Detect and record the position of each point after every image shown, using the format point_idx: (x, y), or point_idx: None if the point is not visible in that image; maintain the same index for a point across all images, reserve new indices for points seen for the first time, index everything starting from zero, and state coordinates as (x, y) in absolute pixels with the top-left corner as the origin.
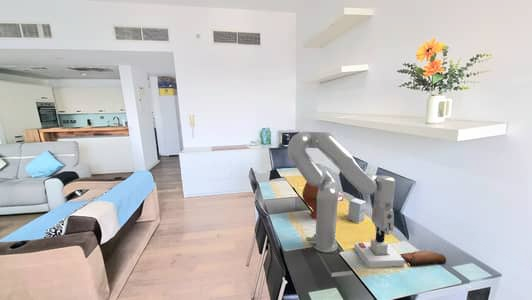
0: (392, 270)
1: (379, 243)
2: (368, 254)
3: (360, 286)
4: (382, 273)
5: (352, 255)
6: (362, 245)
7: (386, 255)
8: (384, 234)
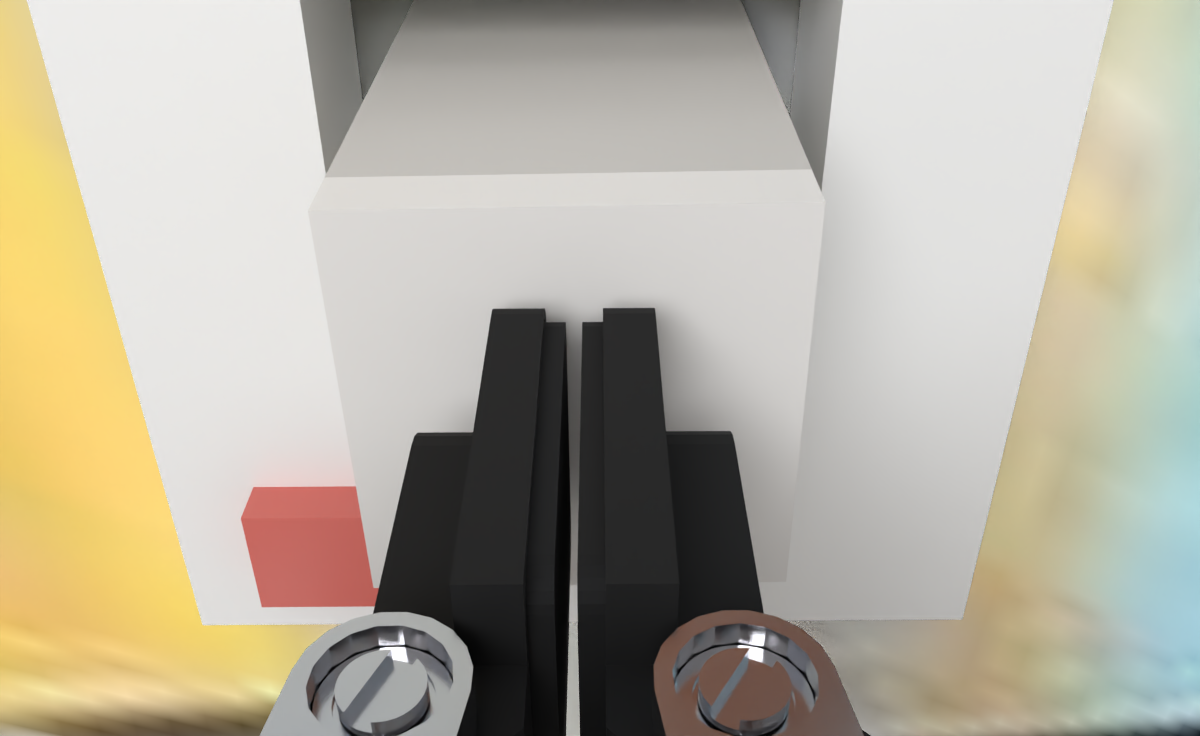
0: (1146, 73)
1: None
2: None
3: None
4: (1150, 353)
5: None
6: None
7: (752, 35)
8: (797, 675)
